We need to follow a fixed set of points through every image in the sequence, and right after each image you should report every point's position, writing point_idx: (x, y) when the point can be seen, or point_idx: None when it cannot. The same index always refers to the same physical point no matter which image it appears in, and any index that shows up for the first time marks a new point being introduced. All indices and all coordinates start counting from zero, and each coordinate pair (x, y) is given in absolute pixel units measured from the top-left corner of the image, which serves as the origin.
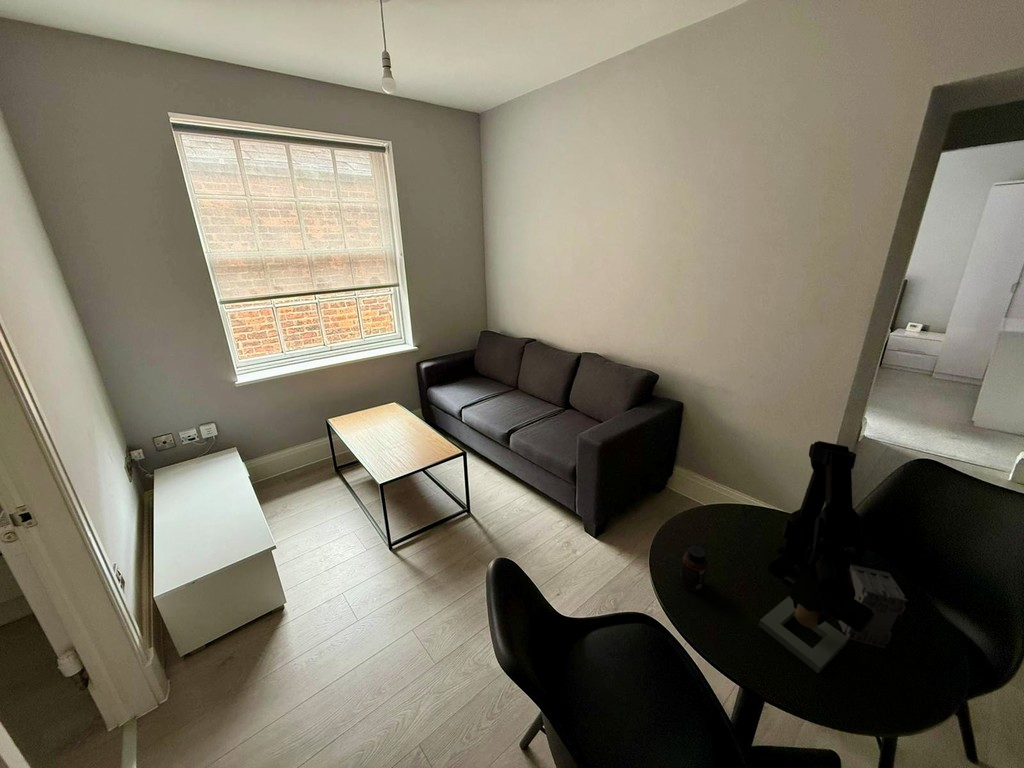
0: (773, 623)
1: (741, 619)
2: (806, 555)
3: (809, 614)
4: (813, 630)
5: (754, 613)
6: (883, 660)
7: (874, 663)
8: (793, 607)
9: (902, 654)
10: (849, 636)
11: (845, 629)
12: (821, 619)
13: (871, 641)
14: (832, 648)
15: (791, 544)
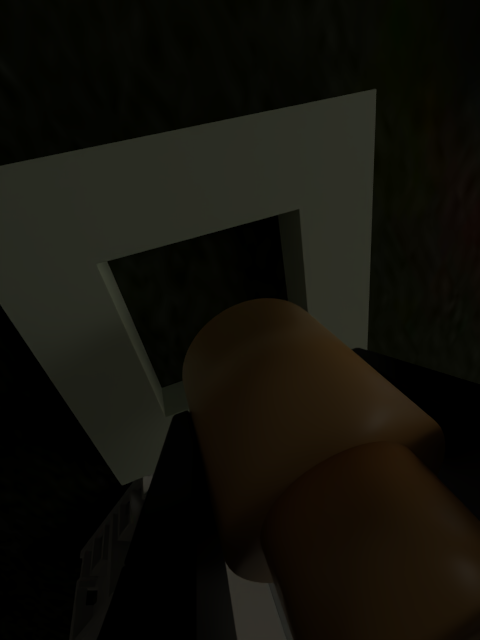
0: (318, 165)
1: (412, 18)
2: None
3: (273, 419)
4: None
5: (388, 158)
6: (29, 525)
7: (17, 493)
8: None
9: (48, 581)
10: (142, 483)
11: None
12: (174, 498)
13: (103, 536)
14: (78, 383)
15: None
